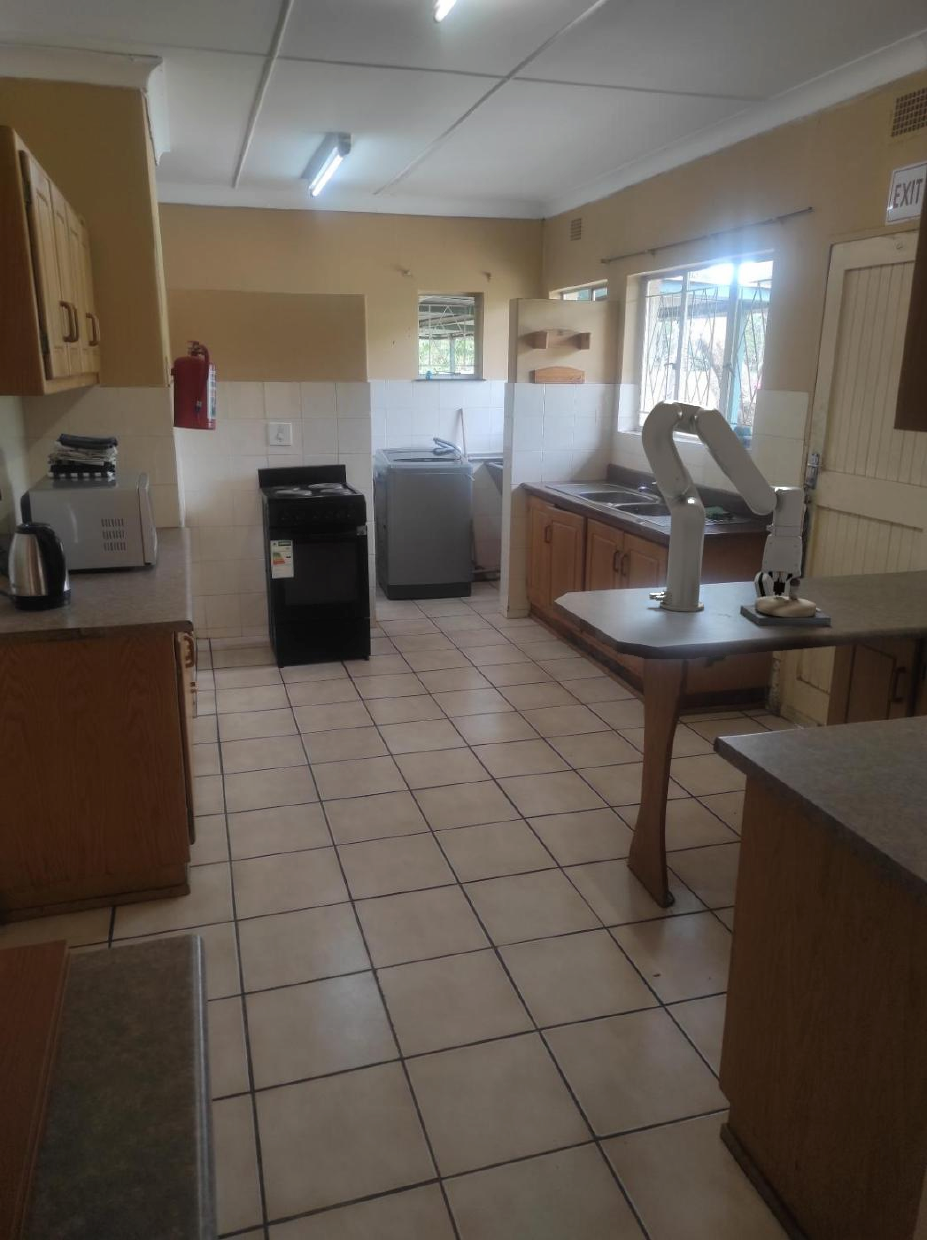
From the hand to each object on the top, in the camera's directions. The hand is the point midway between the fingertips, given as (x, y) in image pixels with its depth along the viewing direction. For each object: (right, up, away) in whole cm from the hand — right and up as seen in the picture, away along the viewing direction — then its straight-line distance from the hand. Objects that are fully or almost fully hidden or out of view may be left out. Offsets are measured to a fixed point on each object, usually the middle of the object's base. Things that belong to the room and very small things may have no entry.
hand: (778, 594), depth 250 cm
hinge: (+3, -1, +17) cm, 18 cm away
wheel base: (0, -7, -5) cm, 9 cm away
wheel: (0, -4, -6) cm, 7 cm away
